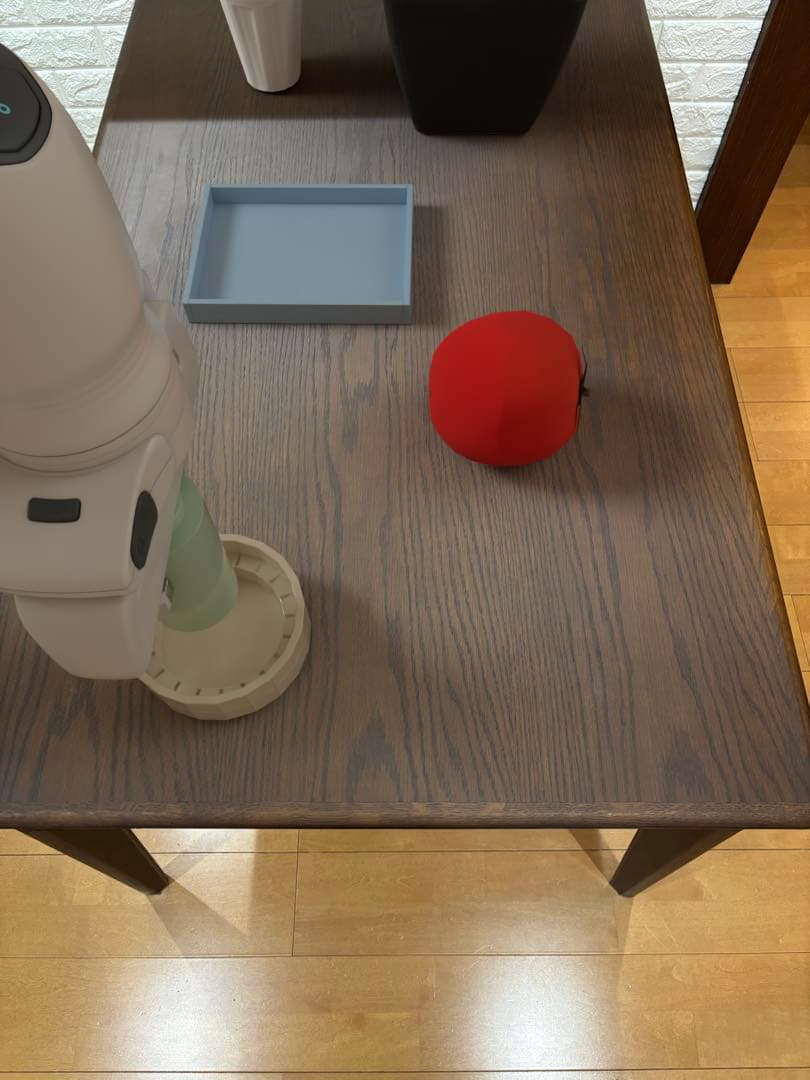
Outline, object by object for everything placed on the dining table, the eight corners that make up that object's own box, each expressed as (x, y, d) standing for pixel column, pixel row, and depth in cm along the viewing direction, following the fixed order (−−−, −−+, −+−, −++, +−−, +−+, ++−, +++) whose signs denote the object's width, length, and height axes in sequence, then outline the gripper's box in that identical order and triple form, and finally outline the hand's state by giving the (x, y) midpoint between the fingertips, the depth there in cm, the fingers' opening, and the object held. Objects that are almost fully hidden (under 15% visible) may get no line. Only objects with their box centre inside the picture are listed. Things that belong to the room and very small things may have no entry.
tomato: (422, 458, 75) (569, 471, 74) (418, 460, 62) (594, 476, 62) (435, 316, 73) (585, 328, 73) (433, 288, 61) (614, 303, 60)
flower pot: (563, 156, 89) (592, -8, 74) (387, 157, 89) (381, -6, 74) (550, 48, 97) (574, -119, 82) (390, 49, 98) (385, -116, 83)
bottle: (142, 631, 55) (42, 504, 40) (157, 550, 57) (69, 403, 42) (232, 633, 55) (167, 507, 39) (242, 552, 57) (185, 405, 42)
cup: (334, 74, 96) (323, -49, 84) (273, 117, 92) (252, -5, 81) (274, 40, 99) (255, -83, 87) (213, 81, 95) (184, -42, 84)
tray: (188, 322, 79) (181, 303, 76) (211, 203, 86) (205, 183, 84) (410, 324, 78) (409, 305, 76) (413, 204, 86) (413, 183, 83)
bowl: (127, 721, 61) (104, 702, 57) (156, 561, 67) (137, 532, 63) (304, 724, 61) (295, 705, 56) (317, 563, 67) (310, 534, 62)
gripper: (70, 244, 42) (145, 406, 55) (-37, 614, 33) (83, 708, 45) (192, 247, 42) (240, 408, 55) (119, 617, 33) (197, 711, 45)
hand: (168, 547), depth 50 cm, fingers closed on bottle, 6 cm apart
